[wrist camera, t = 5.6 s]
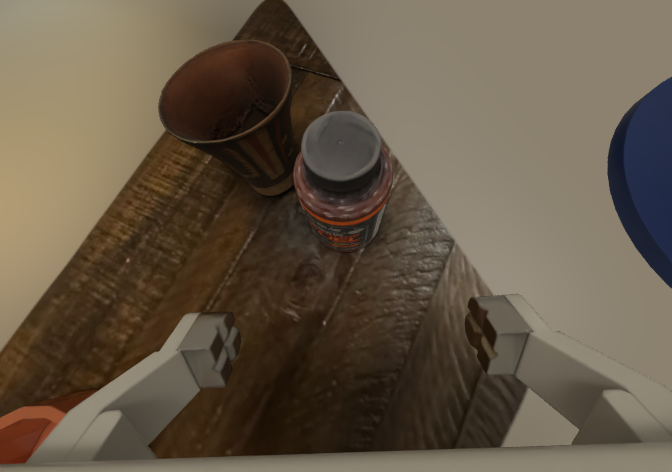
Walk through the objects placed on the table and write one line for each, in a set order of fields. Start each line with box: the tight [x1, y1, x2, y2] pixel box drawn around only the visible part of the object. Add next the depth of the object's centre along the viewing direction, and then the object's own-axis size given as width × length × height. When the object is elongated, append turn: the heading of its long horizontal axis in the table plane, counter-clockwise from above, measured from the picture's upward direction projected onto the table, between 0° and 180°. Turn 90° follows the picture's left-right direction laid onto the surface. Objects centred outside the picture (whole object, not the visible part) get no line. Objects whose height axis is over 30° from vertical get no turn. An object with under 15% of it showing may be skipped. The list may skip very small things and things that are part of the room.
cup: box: [158, 40, 297, 196], centre depth 21 cm, size 9×9×10 cm
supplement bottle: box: [293, 111, 393, 252], centre depth 19 cm, size 6×6×11 cm
